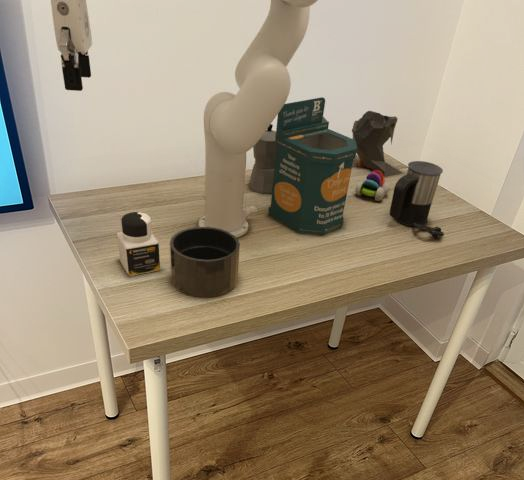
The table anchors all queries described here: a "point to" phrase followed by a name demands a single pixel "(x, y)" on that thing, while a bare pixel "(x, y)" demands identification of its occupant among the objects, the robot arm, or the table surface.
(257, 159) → the coffeepot
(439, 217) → the table surface
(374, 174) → the rainbow caterpillar toy
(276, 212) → the donation box
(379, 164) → the grey walrus sculpture
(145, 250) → the medicine bottle
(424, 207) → the milk frother
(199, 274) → the bucket
